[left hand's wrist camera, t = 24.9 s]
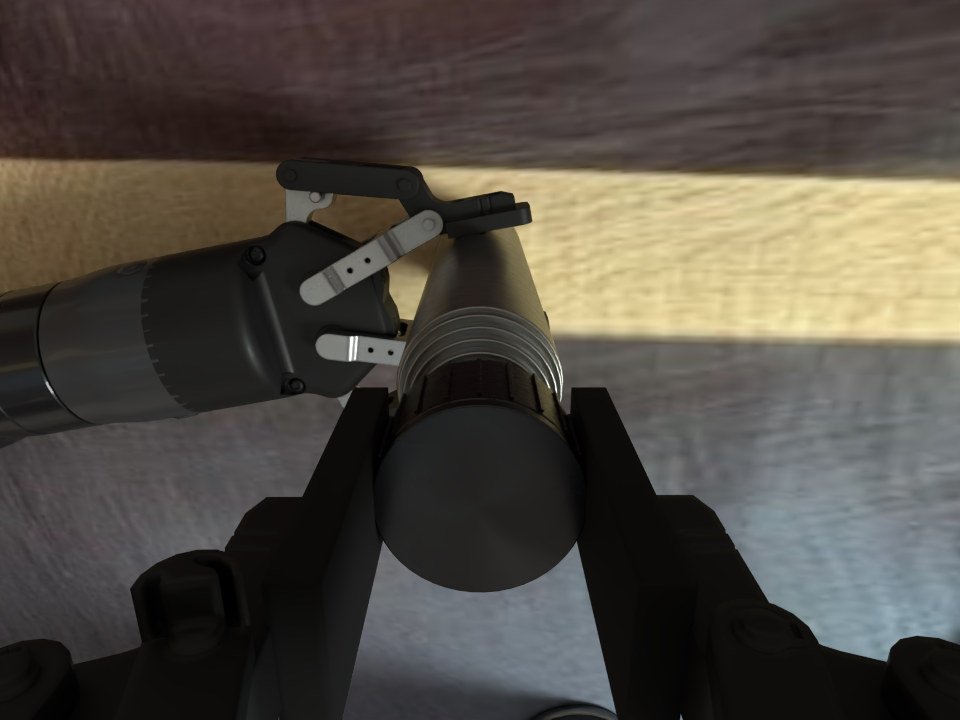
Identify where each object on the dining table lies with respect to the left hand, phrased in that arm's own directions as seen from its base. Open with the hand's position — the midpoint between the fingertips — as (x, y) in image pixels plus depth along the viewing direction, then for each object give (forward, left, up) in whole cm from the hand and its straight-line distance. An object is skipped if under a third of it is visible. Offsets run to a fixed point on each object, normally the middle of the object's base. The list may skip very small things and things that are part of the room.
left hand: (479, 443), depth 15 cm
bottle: (0, 0, -23) cm, 23 cm away
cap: (0, 0, +2) cm, 2 cm away
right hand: (-2, +1, -16) cm, 16 cm away
